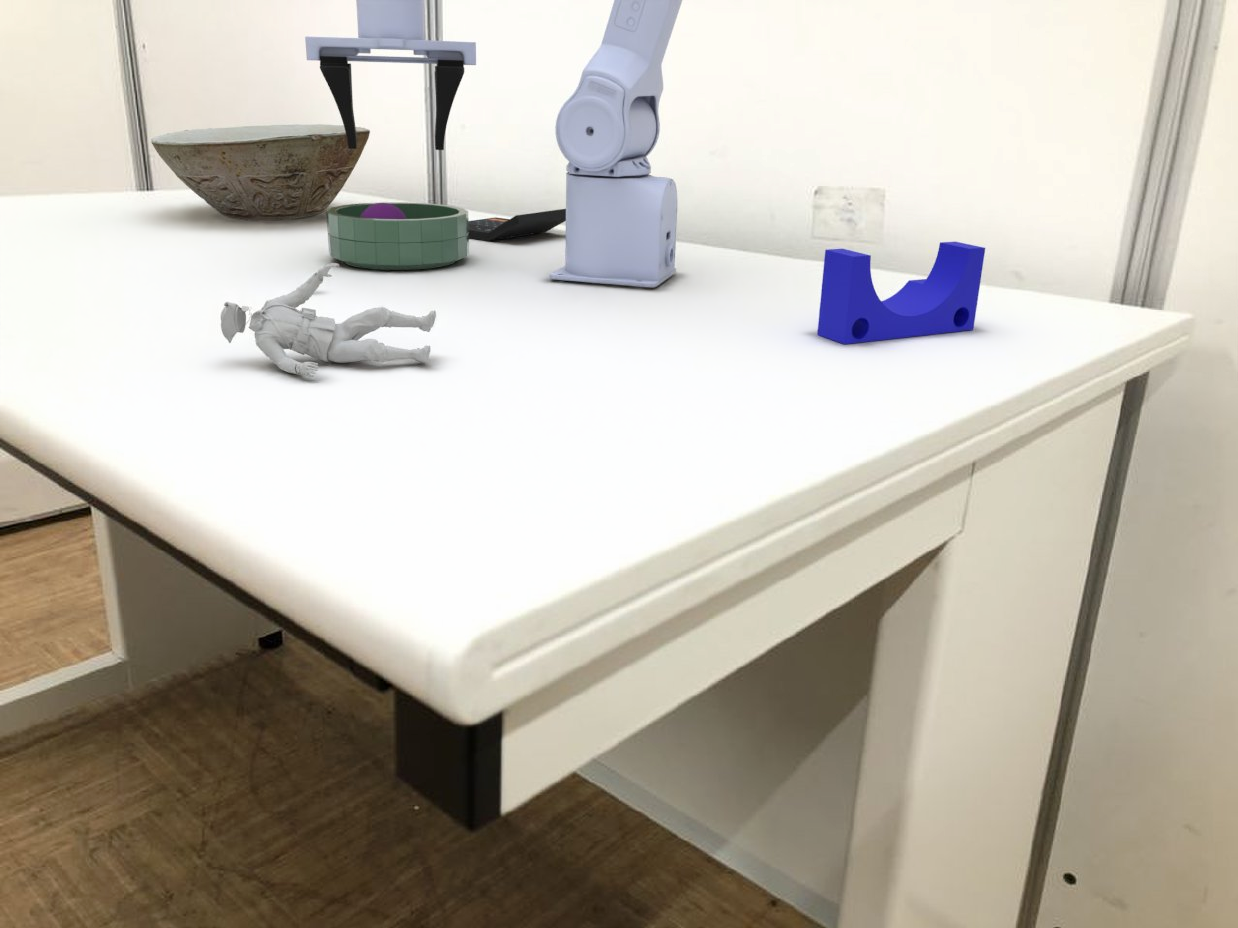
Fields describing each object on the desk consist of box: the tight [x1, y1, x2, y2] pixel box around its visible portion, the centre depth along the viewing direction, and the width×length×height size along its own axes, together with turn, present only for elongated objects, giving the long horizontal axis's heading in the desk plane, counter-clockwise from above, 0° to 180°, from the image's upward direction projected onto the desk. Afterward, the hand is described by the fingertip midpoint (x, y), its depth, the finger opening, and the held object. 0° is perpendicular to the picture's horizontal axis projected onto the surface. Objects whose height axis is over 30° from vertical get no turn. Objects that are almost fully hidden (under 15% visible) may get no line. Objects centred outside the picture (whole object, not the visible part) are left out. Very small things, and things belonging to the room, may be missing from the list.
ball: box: [360, 202, 407, 219], centre depth 98 cm, size 5×5×5 cm
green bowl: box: [325, 201, 470, 271], centre depth 98 cm, size 13×13×4 cm
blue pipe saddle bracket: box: [816, 241, 986, 345], centre depth 77 cm, size 12×4×6 cm, turn 117°
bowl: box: [150, 124, 371, 221], centre depth 122 cm, size 24×24×10 cm
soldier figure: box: [220, 262, 437, 378], centre depth 64 cm, size 8×5×12 cm
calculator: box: [468, 208, 566, 242], centre depth 115 cm, size 9×12×3 cm
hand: (396, 148), depth 97 cm, fingers open, 7 cm apart
